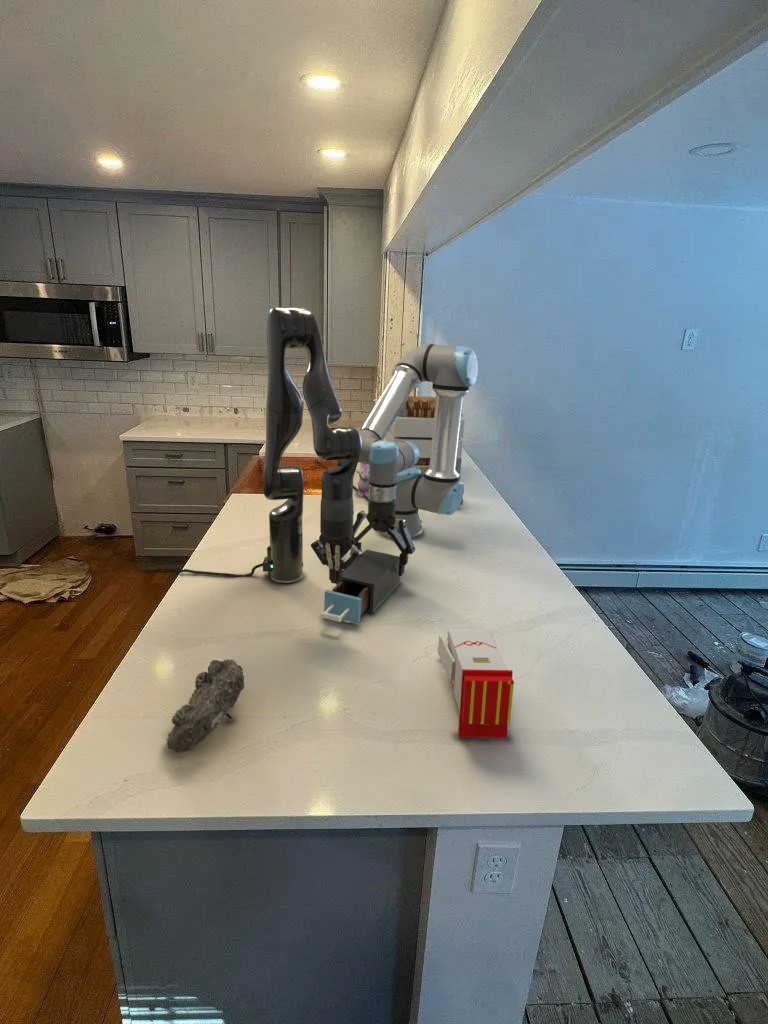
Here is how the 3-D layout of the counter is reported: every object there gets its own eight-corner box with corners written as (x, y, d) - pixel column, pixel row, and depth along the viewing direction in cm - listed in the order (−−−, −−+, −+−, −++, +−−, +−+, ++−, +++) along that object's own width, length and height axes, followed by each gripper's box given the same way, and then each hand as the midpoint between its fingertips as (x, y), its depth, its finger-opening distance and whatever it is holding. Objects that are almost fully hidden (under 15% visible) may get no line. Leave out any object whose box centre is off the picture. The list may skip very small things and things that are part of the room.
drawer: (347, 635, 135) (348, 611, 133) (312, 625, 139) (312, 602, 136) (386, 592, 156) (387, 571, 154) (354, 585, 159) (355, 564, 157)
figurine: (361, 499, 234) (363, 463, 229) (351, 491, 242) (352, 457, 237) (382, 496, 238) (383, 461, 233) (371, 489, 246) (372, 456, 241)
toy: (488, 613, 130) (523, 677, 101) (484, 667, 133) (517, 744, 104) (435, 612, 130) (455, 676, 101) (432, 666, 133) (451, 743, 103)
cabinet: (372, 613, 147) (374, 584, 144) (335, 604, 151) (336, 575, 148) (399, 583, 164) (401, 556, 161) (365, 575, 168) (366, 549, 165)
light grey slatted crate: (382, 463, 289) (386, 382, 275) (445, 464, 293) (451, 384, 279) (390, 482, 257) (394, 392, 243) (460, 483, 261) (468, 394, 247)
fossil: (192, 660, 117) (244, 628, 112) (224, 691, 120) (276, 661, 115) (142, 746, 98) (202, 712, 93) (182, 779, 101) (242, 748, 96)
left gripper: (303, 514, 128) (303, 582, 134) (356, 524, 124) (354, 595, 130) (319, 504, 135) (319, 570, 141) (370, 514, 130) (367, 581, 136)
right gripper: (334, 495, 155) (334, 565, 163) (420, 510, 147) (415, 583, 154) (347, 488, 162) (345, 555, 169) (429, 502, 153) (424, 573, 161)
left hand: (335, 582), depth 135 cm, fingers closed
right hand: (379, 569), depth 162 cm, fingers open, 13 cm apart
